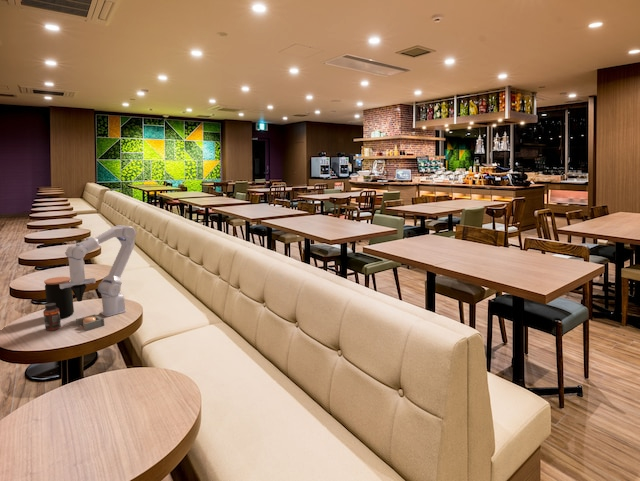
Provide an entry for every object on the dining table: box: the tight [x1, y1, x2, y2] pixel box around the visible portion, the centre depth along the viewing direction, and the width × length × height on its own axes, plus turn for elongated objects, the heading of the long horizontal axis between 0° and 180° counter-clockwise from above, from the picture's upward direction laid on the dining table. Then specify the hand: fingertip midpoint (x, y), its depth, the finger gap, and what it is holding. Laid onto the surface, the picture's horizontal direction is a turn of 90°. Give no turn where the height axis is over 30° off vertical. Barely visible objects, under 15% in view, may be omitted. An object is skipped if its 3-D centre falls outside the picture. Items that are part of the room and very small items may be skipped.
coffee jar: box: [43, 276, 75, 320], centre depth 201 cm, size 11×11×18 cm
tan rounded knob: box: [82, 316, 96, 326], centre depth 189 cm, size 5×5×4 cm
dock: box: [76, 314, 105, 331], centre depth 190 cm, size 8×9×3 cm
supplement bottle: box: [42, 303, 62, 332], centre depth 185 cm, size 6×6×11 cm
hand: (79, 300), depth 192 cm, fingers closed
